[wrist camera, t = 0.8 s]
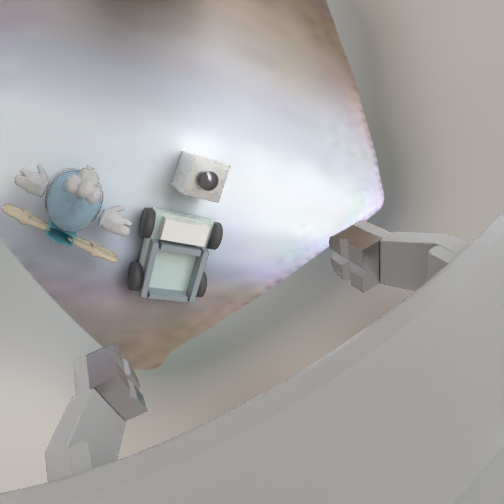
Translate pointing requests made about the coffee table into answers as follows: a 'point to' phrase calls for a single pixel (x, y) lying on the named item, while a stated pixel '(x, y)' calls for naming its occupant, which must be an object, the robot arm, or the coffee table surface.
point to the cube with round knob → (200, 177)
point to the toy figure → (70, 208)
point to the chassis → (173, 255)
